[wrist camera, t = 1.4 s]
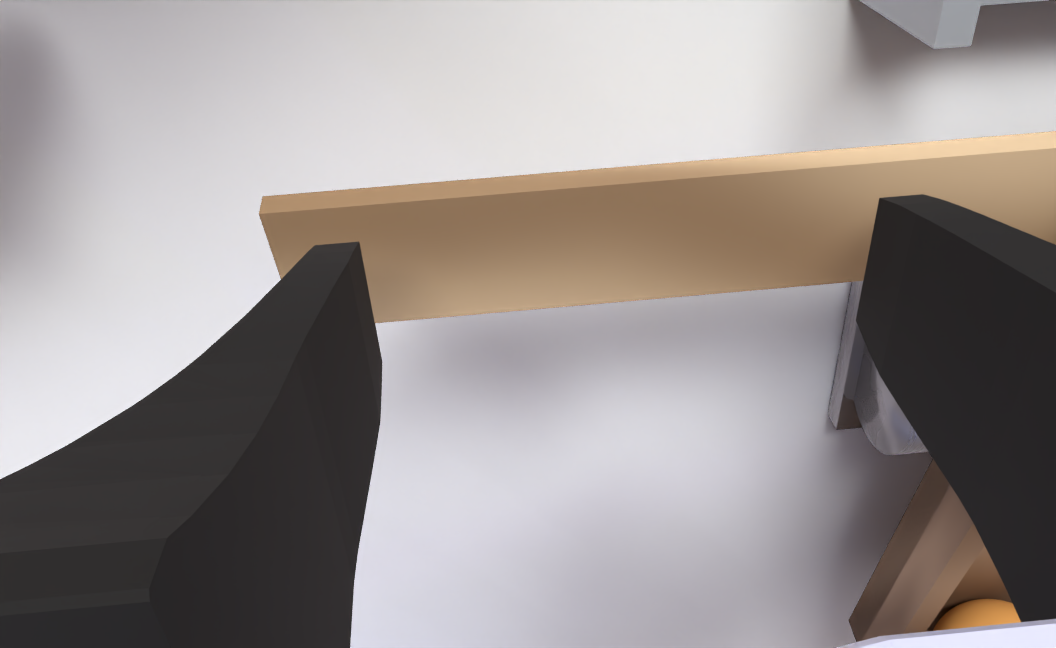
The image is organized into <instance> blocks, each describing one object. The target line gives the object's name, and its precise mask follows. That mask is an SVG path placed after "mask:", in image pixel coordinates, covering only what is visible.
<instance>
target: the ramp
mask: <svg viewBox="0 0 1056 648" xmlns="http://www.w3.org/2000/svg"><path fill="white" fill-rule="evenodd" d="M920 194H924V195H928V196H932V197H935V198H939V199H942V200H945V201H948V202H951V203H954V204H956V205H959V206H962V207H964V208H967V209H970V210H972V211H975V212H977V213H980V214H982V215H985V216H987V217H990V218H992V219H994V220H997V221H999V222H1002V223H1004V224H1007V225H1009V226H1011V227H1014V228H1016V229H1019V230H1021V231H1023V232H1026V233H1028V234H1031V235H1033V236H1036V237H1038V238H1040V239H1043V240H1045V241H1048V242H1050V243H1053V244H1055V245H1056V131H1052V132H1040V133H1028V134H1016V135H1004V136H992V137H979V138H967V139H955V140H943V141H931V142H919V143H907V144H894V145H882V146H870V147H858V148H846V149H834V150H822V151H809V152H797V153H785V154H773V155H761V156H749V157H737V158H724V159H712V160H700V161H688V162H676V163H664V164H651V165H639V166H627V167H615V168H603V169H591V170H579V171H566V172H554V173H542V174H530V175H518V176H506V177H494V178H481V179H469V180H457V181H445V182H433V183H421V184H409V185H396V186H384V187H372V188H360V189H348V190H336V191H324V192H311V193H299V194H287V195H275V196H263V197H262V202H261V206H260V211H259V216H260V219H261V222H262V225H263V228H264V230H265V233H266V236H267V239H268V242H269V245H270V248H271V251H272V254H273V257H274V260H275V263H276V266H277V269H278V272H279V275H280V278H281V279H282V278H283V277H284V276H285V275H286V274H287V273H288V272H289V271H290V270H291V268H292V267H293V266H294V265H295V264H296V263H297V262H298V261H299V260H300V259H301V258H302V257H303V256H304V255H305V254H306V253H307V252H308V251H309V250H310V249H311V248H312V247H313V246H315V245H324V244H336V243H347V242H360V248H361V253H362V258H363V263H364V269H365V274H366V279H367V285H368V290H369V295H370V300H371V306H372V311H373V316H374V321H375V323H382V322H394V321H405V320H417V319H429V318H440V317H452V316H463V315H475V314H486V313H498V312H509V311H521V310H532V309H544V308H555V307H567V306H578V305H590V304H601V303H613V302H624V301H636V300H648V299H659V298H671V297H682V296H694V295H705V294H717V293H728V292H740V291H751V290H763V289H774V288H786V287H797V286H809V285H820V284H832V283H843V282H855V281H863V280H864V275H865V269H866V264H867V259H868V254H869V249H870V244H871V238H872V233H873V228H874V223H875V218H876V213H877V207H878V202H879V198H884V197H896V196H908V195H920ZM977 599H997V600H1003V601H1007V602H1010V603H1012V601H1011V599H1010V597H1009V594H1008V592H1007V590H1006V588H1005V586H1004V584H1003V582H1002V580H1001V578H1000V576H999V573H998V571H997V569H996V567H995V565H994V563H993V561H992V559H991V557H990V555H989V553H988V551H987V549H986V547H985V545H984V543H983V541H982V539H981V537H980V535H979V533H978V531H977V529H976V527H975V525H974V523H973V522H972V520H971V518H970V517H969V515H968V513H967V511H966V510H965V508H964V506H963V505H962V503H961V501H960V499H959V498H958V496H957V495H956V493H955V492H954V490H953V488H952V487H951V485H950V484H949V482H948V481H947V479H946V478H945V476H944V475H943V473H942V472H941V470H940V469H939V467H938V466H937V464H936V462H935V461H934V459H933V460H932V462H931V464H930V466H929V467H928V469H927V471H926V473H925V475H924V477H923V479H922V481H921V483H920V485H919V487H918V489H917V490H916V492H915V494H914V496H913V498H912V500H911V502H910V504H909V506H908V508H907V510H906V511H905V513H904V515H903V517H902V519H901V521H900V523H899V525H898V527H897V529H896V531H895V533H894V534H893V536H892V538H891V540H890V542H889V544H888V546H887V548H886V550H885V552H884V554H883V555H882V557H881V559H880V561H879V563H878V565H877V567H876V569H875V571H874V573H873V575H872V577H871V578H870V580H869V582H868V584H867V586H866V588H865V590H864V592H863V594H862V596H861V598H860V600H859V601H858V603H857V605H856V607H855V609H854V611H853V613H852V615H851V617H850V619H849V622H850V625H851V628H852V631H853V634H854V636H855V639H856V642H859V641H863V640H867V639H871V638H875V637H878V636H887V635H897V634H907V633H917V632H927V631H933V629H934V627H935V625H936V624H937V622H938V621H939V620H940V619H941V618H942V617H943V616H944V615H945V614H946V613H947V612H948V611H949V610H951V609H952V608H954V607H956V606H957V605H959V604H962V603H964V602H967V601H971V600H977Z"/></svg>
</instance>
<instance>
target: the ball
mask: <svg viewBox="0 0 1056 648" xmlns="http://www.w3.org/2000/svg"><path fill="white" fill-rule="evenodd" d="M1019 622H1021V621H1020V619H1019V616H1018V614H1017V612H1016V610H1015V608H1014V605H1013V603H1010V602H1007V601H1003V600H997V599H977V600H971V601H967V602H964V603H962V604H959V605H957V606H956V607H954V608H952V609H951V610H949V611H948V612H947V613H946V614H945V615H944V616H943V617H942V618H941V619H940V620H939V621H938V622H937V624H936V625H935V627H934V629H933V631H937V630H948V629H958V628H968V627H978V626H988V625H998V624H1009V623H1019Z"/></svg>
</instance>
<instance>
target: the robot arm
mask: <svg viewBox="0 0 1056 648" xmlns="http://www.w3.org/2000/svg"><path fill="white" fill-rule="evenodd" d="M856 322H857V325H858V327H859V329H860V332H861V334H862V337H863V339H864V341H865V344H866V346H867V349H868V351H869V353H870V355H871V358H872V360H873V362H874V364H875V366H876V368H877V371H878V373H879V375H880V377H881V378H882V380H883V382H884V383H885V385H886V387H887V388H888V390H889V391H890V393H891V395H892V396H893V398H894V399H895V401H896V402H897V404H898V406H899V407H900V409H901V410H902V412H903V413H904V415H905V417H906V418H907V420H908V421H909V423H910V424H911V426H912V427H913V429H914V430H915V432H916V433H917V435H918V436H919V438H920V440H921V441H922V443H923V444H924V446H925V447H926V449H927V450H928V452H929V453H930V455H931V456H932V458H933V459H934V461H935V462H936V464H937V466H938V467H939V469H940V470H941V472H942V473H943V475H944V476H945V478H946V479H947V481H948V482H949V484H950V485H951V487H952V488H953V490H954V492H955V493H956V495H957V496H958V498H959V499H960V501H961V503H962V505H963V506H964V508H965V510H966V511H967V513H968V515H969V517H970V518H971V520H972V522H973V523H974V525H975V527H976V529H977V531H978V533H979V535H980V537H981V539H982V541H983V543H984V545H985V547H986V549H987V551H988V553H989V555H990V557H991V559H992V561H993V563H994V565H995V567H996V569H997V571H998V573H999V576H1000V578H1001V580H1002V582H1003V584H1004V586H1005V588H1006V590H1007V592H1008V594H1009V597H1010V599H1011V601H1012V603H1013V605H1014V608H1015V610H1016V612H1017V614H1018V616H1019V619H1020V621H1021V622H1019V623H1009V624H998V625H988V626H978V627H968V628H958V629H948V630H937V631H927V632H917V633H907V634H897V635H887V636H878V637H875V638H871V639H867V640H863V641H859V642H855V643H851V644H847V645H843V646H839V647H835V648H1056V245H1055V244H1053V243H1050V242H1048V241H1045V240H1043V239H1040V238H1038V237H1036V236H1033V235H1031V234H1028V233H1026V232H1023V231H1021V230H1019V229H1016V228H1014V227H1011V226H1009V225H1007V224H1004V223H1002V222H999V221H997V220H994V219H992V218H990V217H987V216H985V215H982V214H980V213H977V212H975V211H972V210H970V209H967V208H964V207H962V206H959V205H956V204H954V203H951V202H948V201H945V200H942V199H939V198H935V197H932V196H928V195H924V194H920V195H908V196H896V197H884V198H879V202H878V207H877V213H876V218H875V223H874V228H873V233H872V238H871V244H870V249H869V254H868V259H867V264H866V269H865V275H864V280H863V285H862V290H861V295H860V301H859V306H858V311H857V316H856ZM381 389H382V358H381V353H380V348H379V343H378V337H377V332H376V327H375V321H374V316H373V311H372V306H371V300H370V295H369V290H368V285H367V279H366V274H365V269H364V263H363V258H362V253H361V248H360V242H347V243H336V244H324V245H315V246H313V247H312V248H311V249H310V250H309V251H308V252H307V253H306V254H305V255H304V256H303V257H302V258H301V259H300V260H299V261H298V262H297V263H296V264H295V265H294V266H293V267H292V268H291V270H290V271H289V272H288V273H287V274H286V275H285V276H284V277H283V278H282V279H281V280H280V281H279V282H278V283H277V284H276V285H275V286H274V287H273V288H272V289H271V290H270V291H269V292H268V293H267V294H266V295H265V296H264V297H263V298H262V299H261V300H260V301H259V302H258V303H257V304H256V305H255V306H254V307H253V308H252V309H251V310H250V311H249V312H248V313H247V314H246V315H245V316H244V317H243V318H242V319H241V320H240V321H239V322H238V323H237V324H235V325H234V326H233V327H232V328H231V329H230V330H229V331H228V332H226V333H225V334H224V335H223V336H222V337H221V338H220V339H219V340H218V341H216V342H215V343H214V344H213V345H212V346H211V347H210V348H209V349H207V350H206V351H205V352H204V353H203V354H202V355H201V356H200V357H198V358H197V359H196V360H195V361H193V362H192V363H191V364H190V365H188V366H187V367H186V368H185V369H183V370H182V371H181V372H179V373H178V374H177V375H176V376H174V377H173V378H172V379H170V380H169V381H167V382H166V383H165V384H163V385H162V386H160V387H159V388H158V389H156V390H155V391H153V392H152V393H151V394H149V395H148V396H146V397H145V398H144V399H142V400H141V401H139V402H138V403H136V404H135V405H133V406H132V407H130V408H128V409H127V410H125V411H123V412H122V413H120V414H118V415H117V416H115V417H113V418H112V419H110V420H109V421H107V422H105V423H104V424H102V425H100V426H99V427H97V428H95V429H94V430H92V431H90V432H89V433H87V434H85V435H84V436H82V437H80V438H79V439H77V440H75V441H74V442H72V443H70V444H69V445H67V446H65V447H63V448H61V449H59V450H58V451H56V452H54V453H52V454H50V455H48V456H46V457H44V458H42V459H40V460H38V461H37V462H35V463H33V464H31V465H29V466H27V467H25V468H23V469H21V470H19V471H17V472H14V473H12V474H10V475H8V476H6V477H4V478H2V479H0V648H350V638H351V622H352V605H353V589H354V578H355V570H356V562H357V554H358V548H359V542H360V536H361V531H362V525H363V519H364V514H365V508H366V502H367V496H368V491H369V485H370V479H371V474H372V468H373V462H374V456H375V450H376V444H377V438H378V432H379V426H380V416H381Z"/></svg>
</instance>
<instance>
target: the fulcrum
mask: <svg viewBox="0 0 1056 648" xmlns="http://www.w3.org/2000/svg"><path fill="white" fill-rule="evenodd" d="M862 285H863V281H855V282H852V286H851V291H850V297H849V302H848V307H847V313H846V318H845V324H844V329H843V335H842V340H841V345H840V351H839V356H838V362H837V367H836V373H835V378H834V383H833V389H832V394H831V400H830V405H829V411H828V416H829V418H830V419H831V421H832V423H833V425H834V427H835V428H836V430H839V429H850V428H861V427H862V428H863V430H864V432H865V434H866V436H867V438H868V439H869V441H870V442H871V444H872V445H873V446H874V447H875V448H876V449H877V450H878V451H879V452H881V453H882V454H885V455H899V454H910V453H921V452H928V450H927V449H926V447H925V446H924V444H923V443H922V441H921V440H920V438H919V436H918V435H917V433H916V432H915V430H914V429H913V427H912V426H911V424H910V423H909V421H908V420H907V418H906V417H905V415H904V413H903V412H902V410H901V409H900V407H899V406H898V404H897V402H896V401H895V399H894V398H893V396H892V395H891V393H890V391H889V390H888V388H887V387H886V385H885V383H884V382H883V380H882V378H881V377H880V375H879V373H878V371H877V368H876V366H875V364H874V362H873V360H872V358H871V355H870V353H869V351H868V349H867V346H866V344H865V341H864V339H863V337H862V334H861V332H860V329H859V327H858V325H857V322H856V316H857V311H858V306H859V301H860V295H861V290H862Z"/></svg>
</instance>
